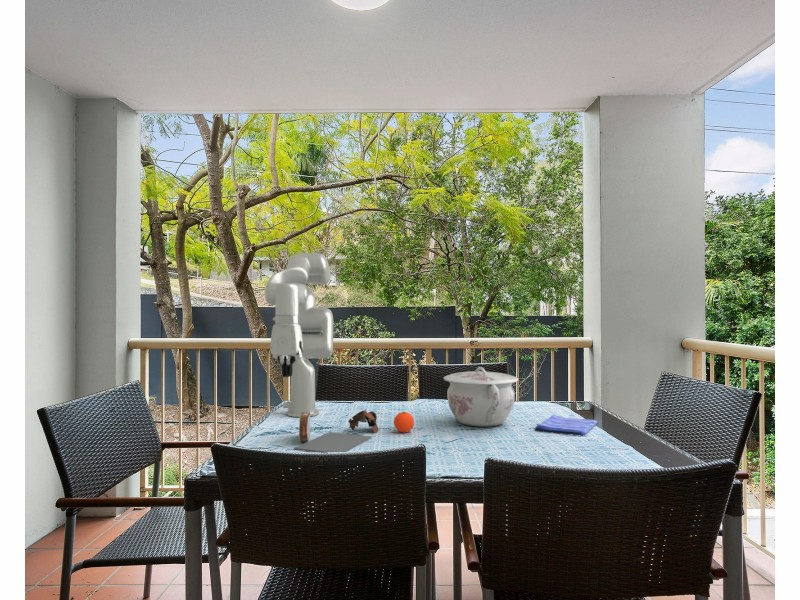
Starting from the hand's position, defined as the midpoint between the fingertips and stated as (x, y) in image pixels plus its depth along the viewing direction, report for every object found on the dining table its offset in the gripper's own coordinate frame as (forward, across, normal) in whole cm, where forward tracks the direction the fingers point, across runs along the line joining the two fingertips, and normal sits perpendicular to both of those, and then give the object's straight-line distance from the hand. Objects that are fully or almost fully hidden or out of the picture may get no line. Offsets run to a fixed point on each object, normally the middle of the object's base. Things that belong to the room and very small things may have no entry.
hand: (287, 376), depth 192 cm
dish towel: (+21, +83, +52) cm, 100 cm away
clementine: (+21, +32, +24) cm, 45 cm away
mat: (+21, +17, 0) cm, 27 cm away
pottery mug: (+21, +19, +20) cm, 34 cm away
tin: (+20, +7, 0) cm, 22 cm away
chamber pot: (+20, +53, +46) cm, 73 cm away
